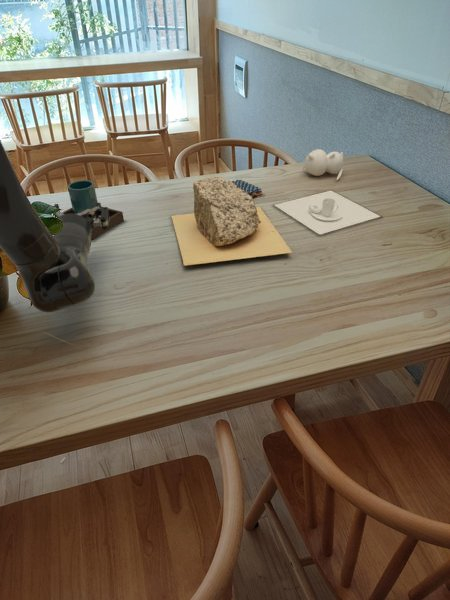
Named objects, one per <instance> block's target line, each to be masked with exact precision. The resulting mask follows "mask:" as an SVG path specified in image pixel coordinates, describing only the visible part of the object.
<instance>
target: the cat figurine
mask: <svg viewBox="0 0 450 600" xmlns="http://www.w3.org/2000/svg"><path fill="white" fill-rule="evenodd" d="M343 166H344V152H343V151H341V152H339V151H336V150H333V151H330V152H329V153H327V152H325V151H324V150H323V149H320V148H316V149H314V150H312V151H311V152H309V153H308V154H307V156H306V157H305V161H304V167H303V169H302V172H306V173H309V174H310V175H312V176H314V177H319V176H322V175H324V174H325V173H329V174H331V175H335V174H337V173H338V175H337V176H336V179H335V181H338V180H340V178H341V176H342V174H343V169H344V167H343Z"/></svg>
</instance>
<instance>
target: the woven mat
mask: <svg viewBox="0 0 450 600" xmlns="http://www.w3.org/2000/svg"><path fill="white" fill-rule="evenodd" d="M232 182H233V183H234V184H235V185H236V186H237V187H238V188H240V189H241V190H243V191H245V192H247V193H248V194H249V195H250V196H251V197H252V198H253V197H259V196H261V195H263V194H264V193H263V191H262V188H261V187H259V186H256V185H255V184H252V183H249V182H247V181H245V180H243V179H235V180H232Z"/></svg>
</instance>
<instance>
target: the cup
mask: <svg viewBox="0 0 450 600" xmlns="http://www.w3.org/2000/svg"><path fill="white" fill-rule="evenodd" d="M67 191H68V195H69V200H70V203H71V208H73V213H74V214H77V213H81V212H83V211H85V210H86V209H92V208H93V206H94V201H98V197H97V192H96V187H95V182H93V181H92V180H88V179H83V180H76V181H73V182H70V183H69V184H68V185H67ZM87 216H88V215H87ZM94 216H95V213H94Z"/></svg>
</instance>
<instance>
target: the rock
mask: <svg viewBox="0 0 450 600" xmlns="http://www.w3.org/2000/svg"><path fill="white" fill-rule="evenodd" d="M232 181H233V180H232ZM232 181H231V180H228V179H224V178H223V177H222V176H213V177H212V176H210V177H208V178H205V179H199V180H196V181H194V182H193V184H192V185H193V187H192V189H193V197H194V199H193V213H185V214H175V215H171V221H172V224H173V228H174V231H175V235H176V240H177V243H178V247H179V252H180V255H181V259H182V262H183V266H193V265H200V264H201V265H202V264H209V263H217V262H226V261H234V260H242V259H251V258H257V257H259V258H261V257H268V256H277V255H283V254H291V253H292V254H293V251H292V250H291V248H290V247H289V245H288V244H287V243H286V241H285V240H284V238H283V237H282V236H281V234H280V233H279V232H278V230H277V229H276V227H275V226H274V225H273V223H272V222H271V220H270V219H269V217H268V216H267V215H266V214H265V212H264V210H263V209H262V208H261V206H256V205H255V201H254V199H253V197H251V196H250V195H249V194H248V193H247V192H245V191H243V190H241V189H240V188H238V187H237V186H236V185H235V184H234V183H233V182H232Z"/></svg>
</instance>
